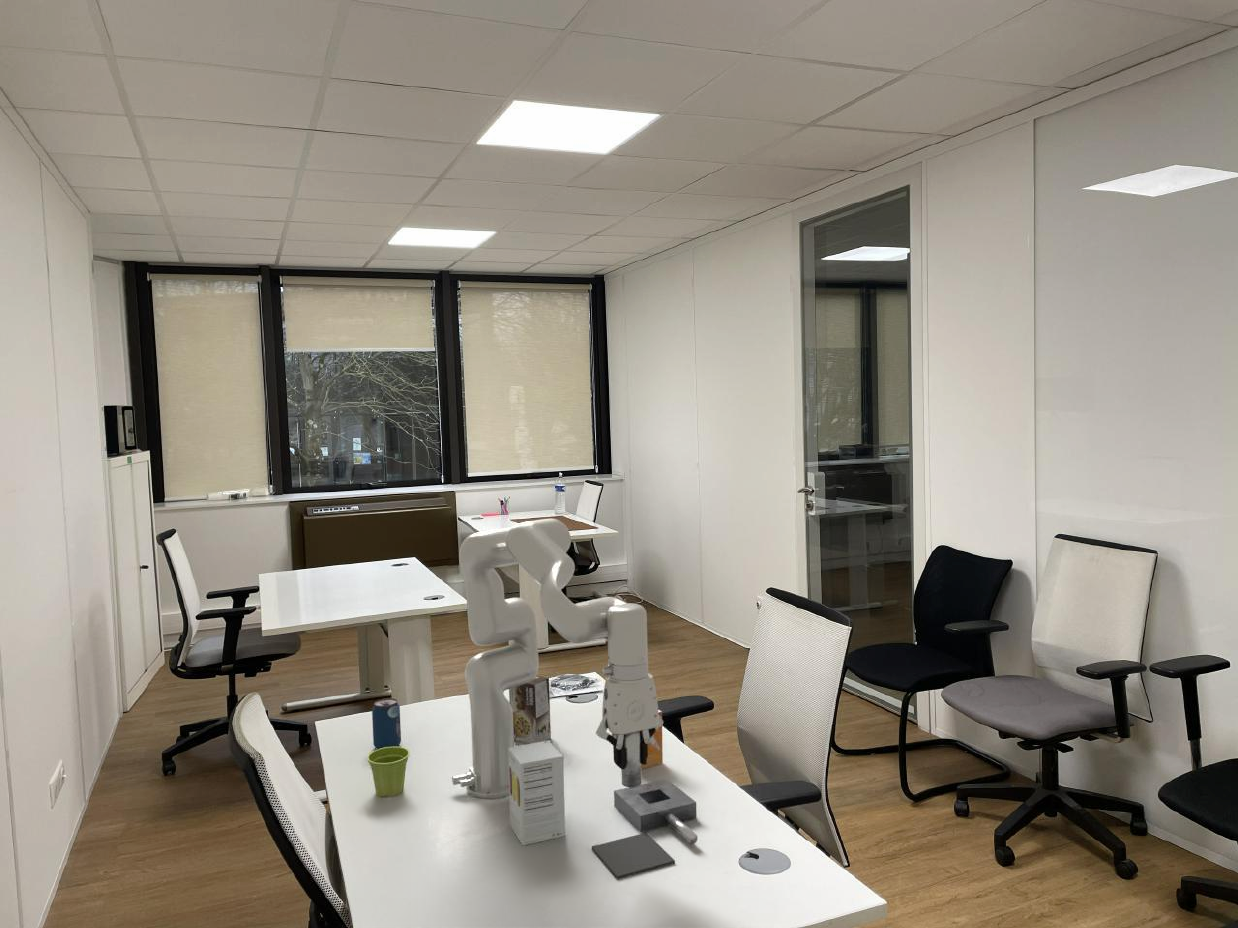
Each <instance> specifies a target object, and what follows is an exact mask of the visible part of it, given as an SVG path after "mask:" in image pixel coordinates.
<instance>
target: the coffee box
mask: <svg viewBox="0 0 1238 928" xmlns="http://www.w3.org/2000/svg"><path fill="white" fill-rule="evenodd" d="M508 697H509V699H508V701H509V703H510V704H511V706H512V710H513V729H514V741H518V742H521V743H526V744H531V743H537V742H542V741H549V740H550V739H551V738H552V733H551V732H552V731H551V703H550V701H551V699H550V698H551V697H550V677H545V676H540V675H536V677H535V678H534V679H533V680H532V681H530V682H529V683H526V684H523V685H520V686H516V687H513V688H510V689H508Z"/></svg>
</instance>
